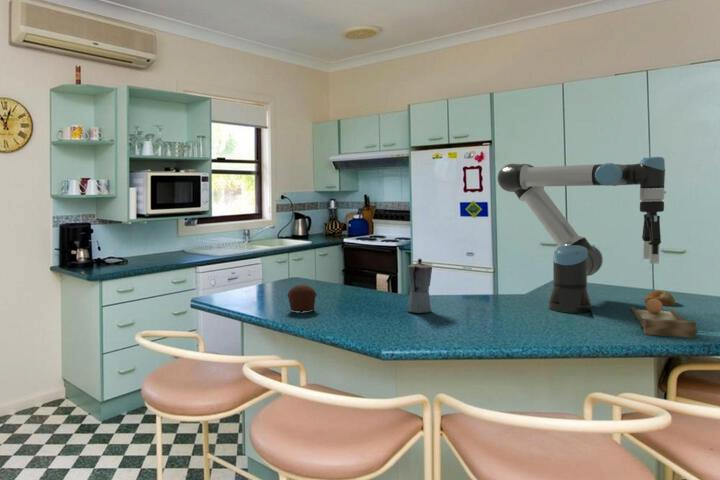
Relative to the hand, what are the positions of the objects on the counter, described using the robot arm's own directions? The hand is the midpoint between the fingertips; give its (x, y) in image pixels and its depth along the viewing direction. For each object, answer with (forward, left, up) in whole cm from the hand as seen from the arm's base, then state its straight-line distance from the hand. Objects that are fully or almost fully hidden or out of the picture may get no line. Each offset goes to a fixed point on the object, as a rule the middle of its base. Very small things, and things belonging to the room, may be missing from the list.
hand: (650, 261), depth 179 cm
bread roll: (+5, +10, -19) cm, 22 cm away
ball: (0, -8, -17) cm, 19 cm away
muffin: (-124, -34, -19) cm, 130 cm away
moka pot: (-80, -23, -19) cm, 85 cm away
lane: (0, -19, -18) cm, 26 cm away
